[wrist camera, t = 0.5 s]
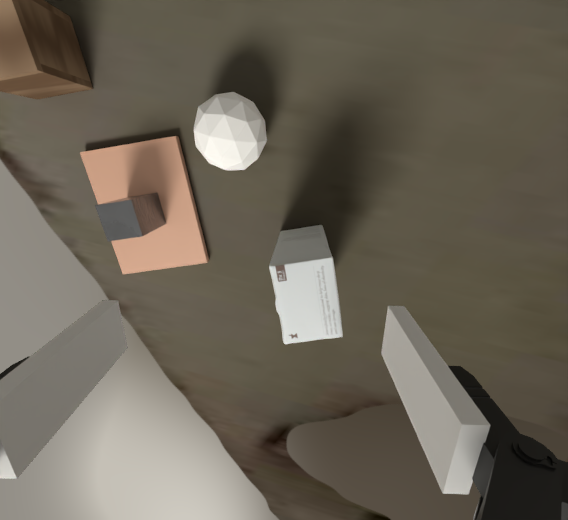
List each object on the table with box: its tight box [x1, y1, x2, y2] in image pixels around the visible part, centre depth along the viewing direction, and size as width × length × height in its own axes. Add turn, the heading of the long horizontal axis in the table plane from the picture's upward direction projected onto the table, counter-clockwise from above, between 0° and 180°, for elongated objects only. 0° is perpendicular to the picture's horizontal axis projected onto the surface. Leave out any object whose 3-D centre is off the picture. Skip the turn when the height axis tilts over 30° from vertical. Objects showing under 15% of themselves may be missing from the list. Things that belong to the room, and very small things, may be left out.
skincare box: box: [269, 225, 343, 344], centre depth 34 cm, size 8×6×15 cm
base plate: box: [80, 136, 209, 274], centre depth 39 cm, size 16×12×1 cm
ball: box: [194, 92, 267, 170], centre depth 32 cm, size 8×8×8 cm
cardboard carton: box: [0, 0, 93, 99], centre depth 30 cm, size 7×7×8 cm
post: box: [95, 192, 166, 241], centre depth 35 cm, size 4×4×6 cm
